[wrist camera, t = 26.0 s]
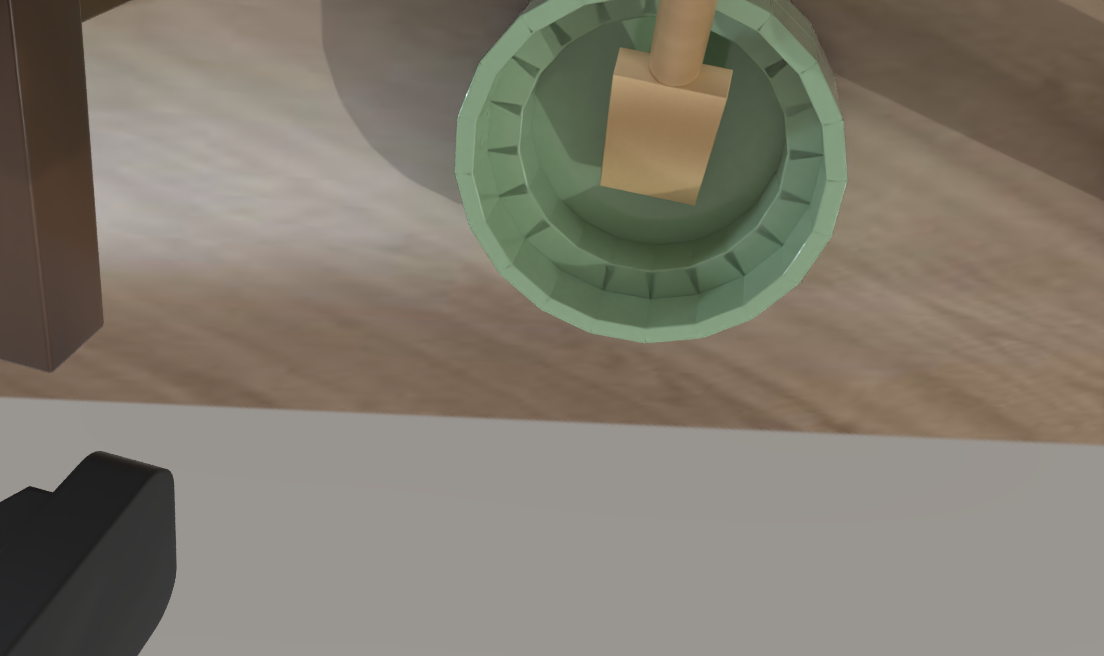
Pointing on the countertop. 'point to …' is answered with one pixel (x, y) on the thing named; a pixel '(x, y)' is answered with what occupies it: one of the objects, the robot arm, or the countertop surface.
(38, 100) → the wooden pedestal stand
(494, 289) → the countertop surface
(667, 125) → the spatula
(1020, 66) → the countertop surface
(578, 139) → the bowl
